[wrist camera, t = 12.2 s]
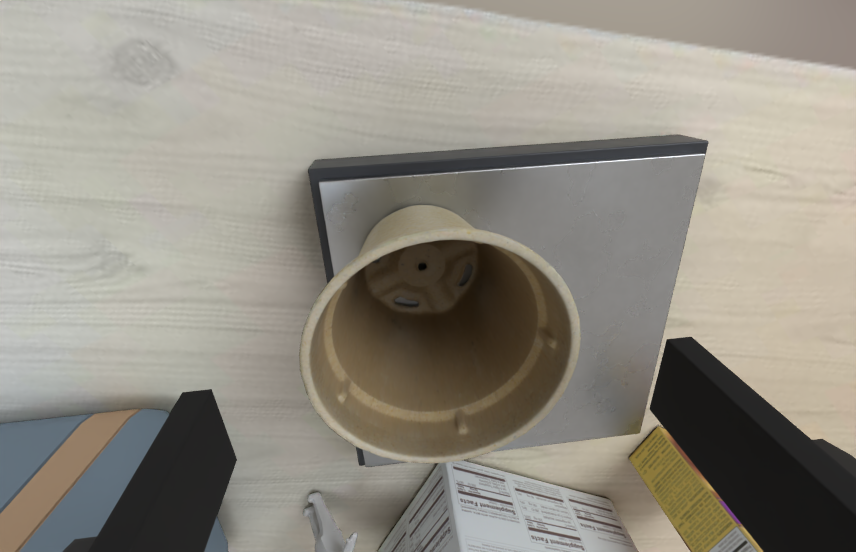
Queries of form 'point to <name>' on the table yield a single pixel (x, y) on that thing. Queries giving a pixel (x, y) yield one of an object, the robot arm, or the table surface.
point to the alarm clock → (72, 476)
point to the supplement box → (504, 516)
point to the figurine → (326, 528)
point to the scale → (549, 247)
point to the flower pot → (438, 341)
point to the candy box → (689, 498)
